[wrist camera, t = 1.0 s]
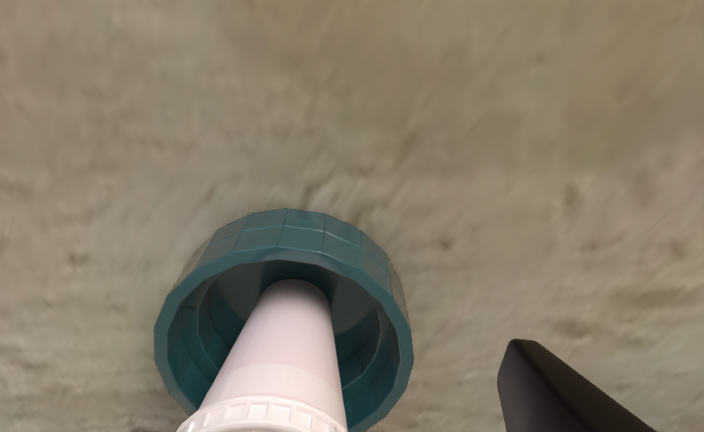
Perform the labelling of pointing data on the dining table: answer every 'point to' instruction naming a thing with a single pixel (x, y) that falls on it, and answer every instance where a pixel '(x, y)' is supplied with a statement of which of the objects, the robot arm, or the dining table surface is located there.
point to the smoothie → (278, 369)
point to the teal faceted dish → (280, 264)
